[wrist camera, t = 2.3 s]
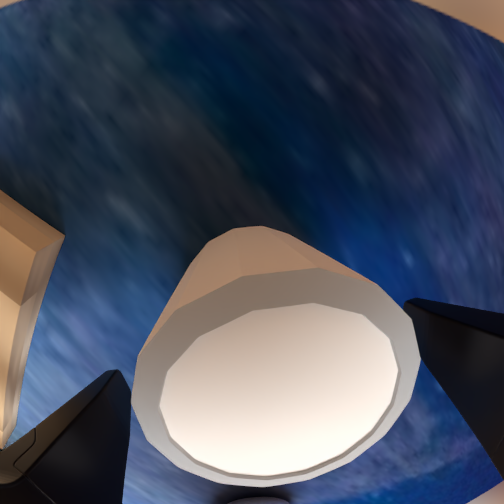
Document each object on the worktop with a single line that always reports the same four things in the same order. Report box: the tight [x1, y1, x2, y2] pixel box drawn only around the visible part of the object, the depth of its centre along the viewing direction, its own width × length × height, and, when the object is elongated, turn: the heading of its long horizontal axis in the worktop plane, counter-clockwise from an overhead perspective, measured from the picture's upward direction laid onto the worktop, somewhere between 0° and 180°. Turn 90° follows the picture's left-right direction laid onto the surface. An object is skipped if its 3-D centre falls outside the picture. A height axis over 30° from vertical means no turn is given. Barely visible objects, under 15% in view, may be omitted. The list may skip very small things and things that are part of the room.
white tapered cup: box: [131, 226, 421, 487], centre depth 10 cm, size 7×7×7 cm
